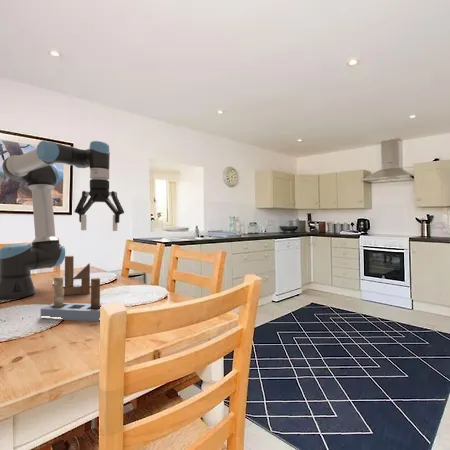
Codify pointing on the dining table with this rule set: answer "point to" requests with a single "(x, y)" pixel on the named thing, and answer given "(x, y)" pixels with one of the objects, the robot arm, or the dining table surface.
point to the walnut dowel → (95, 293)
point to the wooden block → (82, 275)
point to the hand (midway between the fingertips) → (99, 230)
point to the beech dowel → (58, 292)
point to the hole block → (72, 312)
